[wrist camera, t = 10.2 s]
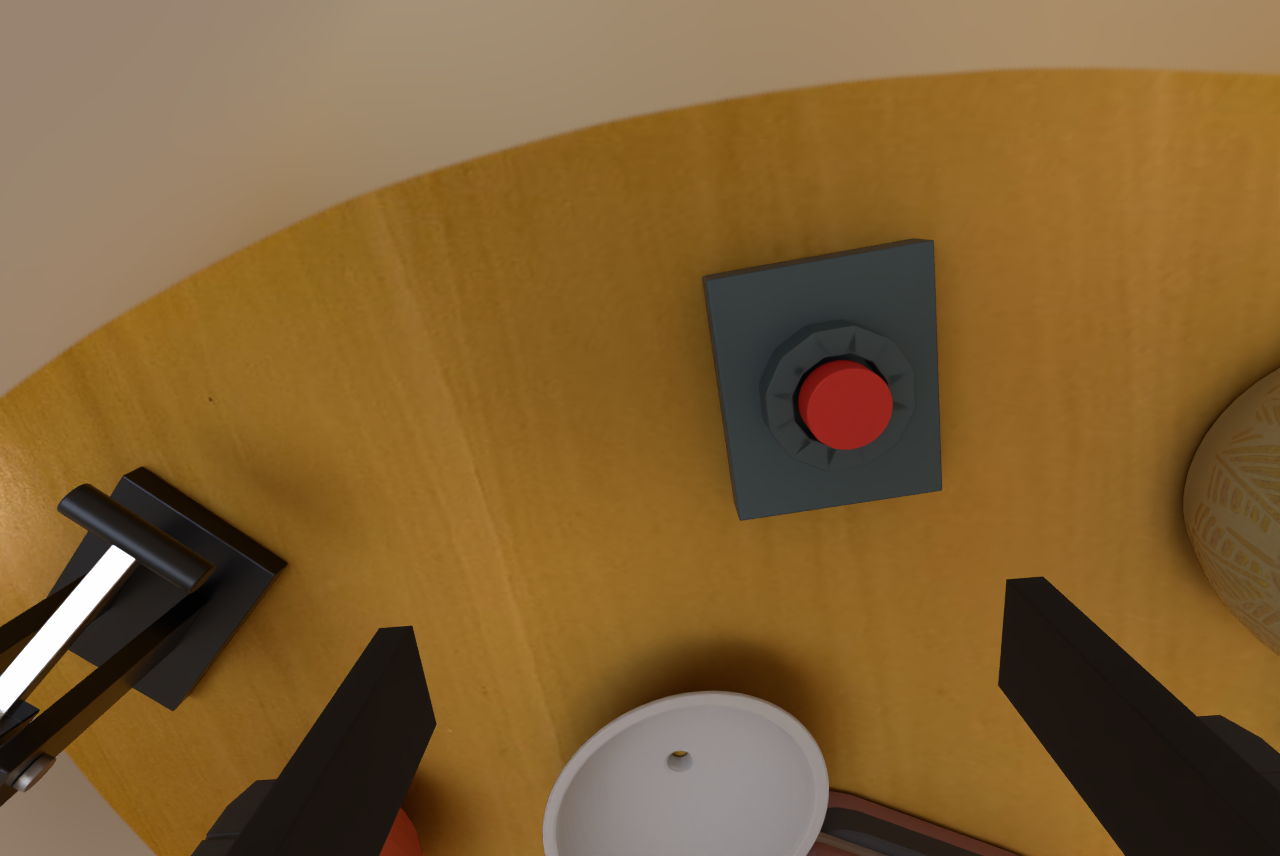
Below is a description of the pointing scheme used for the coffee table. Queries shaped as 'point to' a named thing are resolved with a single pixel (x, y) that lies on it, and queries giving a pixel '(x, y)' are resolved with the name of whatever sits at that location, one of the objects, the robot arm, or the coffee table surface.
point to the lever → (94, 592)
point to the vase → (1241, 508)
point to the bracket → (139, 625)
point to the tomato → (402, 838)
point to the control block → (809, 337)
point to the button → (845, 404)
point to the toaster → (888, 833)
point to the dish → (691, 783)
